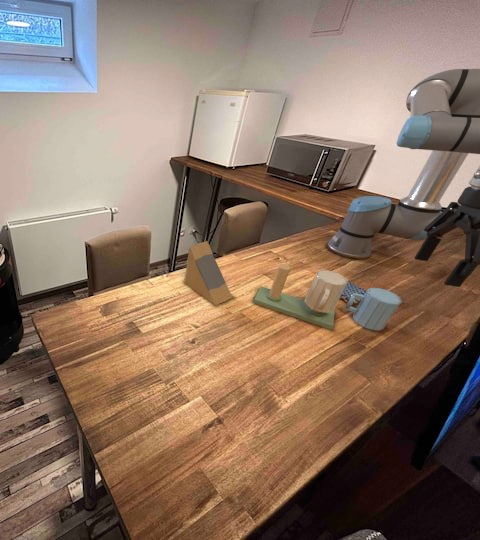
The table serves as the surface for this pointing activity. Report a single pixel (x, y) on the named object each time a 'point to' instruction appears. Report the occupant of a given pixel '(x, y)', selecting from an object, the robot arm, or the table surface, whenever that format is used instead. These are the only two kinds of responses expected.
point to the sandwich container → (205, 274)
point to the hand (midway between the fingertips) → (434, 271)
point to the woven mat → (351, 292)
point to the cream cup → (325, 290)
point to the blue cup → (374, 308)
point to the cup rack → (291, 302)
